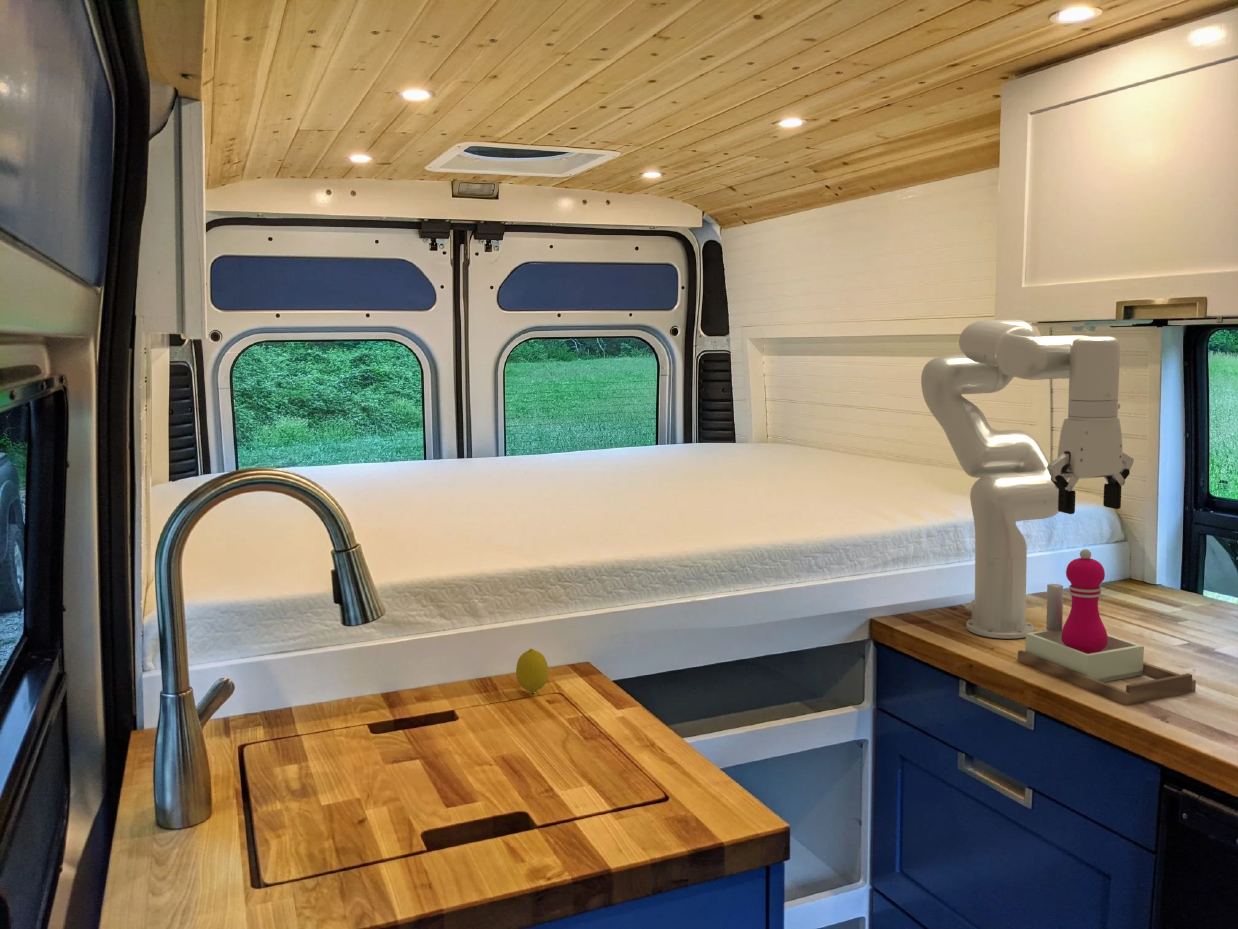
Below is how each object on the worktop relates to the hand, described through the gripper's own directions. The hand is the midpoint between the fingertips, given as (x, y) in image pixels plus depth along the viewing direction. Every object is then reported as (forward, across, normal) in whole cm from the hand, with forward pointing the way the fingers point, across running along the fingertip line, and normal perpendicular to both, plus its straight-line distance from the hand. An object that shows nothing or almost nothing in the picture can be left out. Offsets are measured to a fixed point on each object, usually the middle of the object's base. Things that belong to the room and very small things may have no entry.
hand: (1089, 510), depth 165 cm
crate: (+27, +2, +1) cm, 27 cm away
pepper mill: (+27, +1, +1) cm, 27 cm away
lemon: (+29, +92, -28) cm, 101 cm away
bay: (+28, +1, +5) cm, 29 cm away
